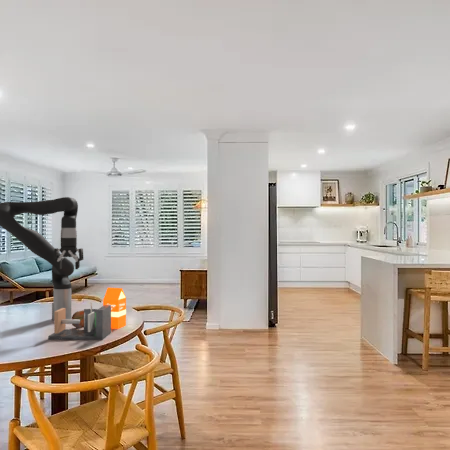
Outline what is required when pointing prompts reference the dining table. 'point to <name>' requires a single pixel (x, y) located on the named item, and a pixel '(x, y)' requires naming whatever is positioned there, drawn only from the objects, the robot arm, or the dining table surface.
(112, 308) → the orange juice
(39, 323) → the dining table surface
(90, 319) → the pointer
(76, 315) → the tin
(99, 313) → the grey l-shaped bracket
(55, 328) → the plunger
